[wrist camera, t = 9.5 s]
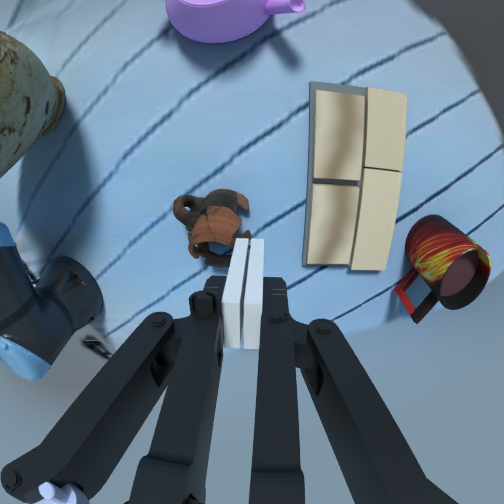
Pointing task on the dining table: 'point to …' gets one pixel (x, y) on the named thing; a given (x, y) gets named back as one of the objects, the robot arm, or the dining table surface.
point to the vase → (24, 100)
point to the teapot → (225, 17)
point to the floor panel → (368, 173)
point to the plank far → (331, 223)
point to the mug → (443, 266)
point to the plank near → (338, 135)
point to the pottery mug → (212, 223)
